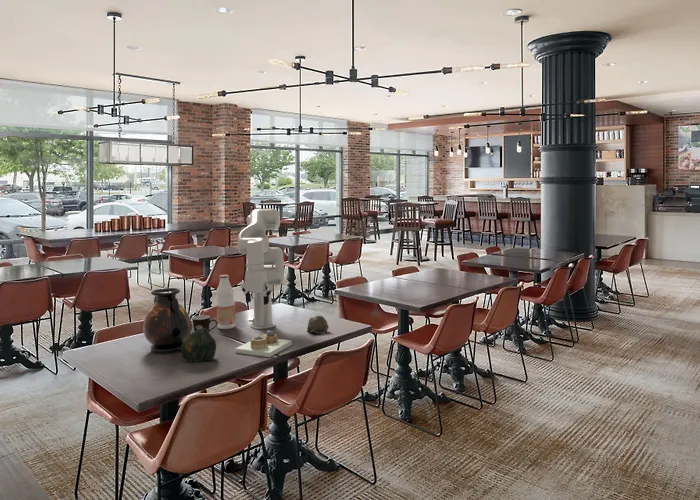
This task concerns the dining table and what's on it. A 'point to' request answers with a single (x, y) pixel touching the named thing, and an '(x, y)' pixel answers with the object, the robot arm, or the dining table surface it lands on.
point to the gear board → (272, 346)
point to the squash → (198, 346)
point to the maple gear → (258, 343)
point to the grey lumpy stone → (317, 325)
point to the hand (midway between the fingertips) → (257, 303)
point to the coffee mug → (202, 322)
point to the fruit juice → (225, 304)
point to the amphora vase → (166, 322)
